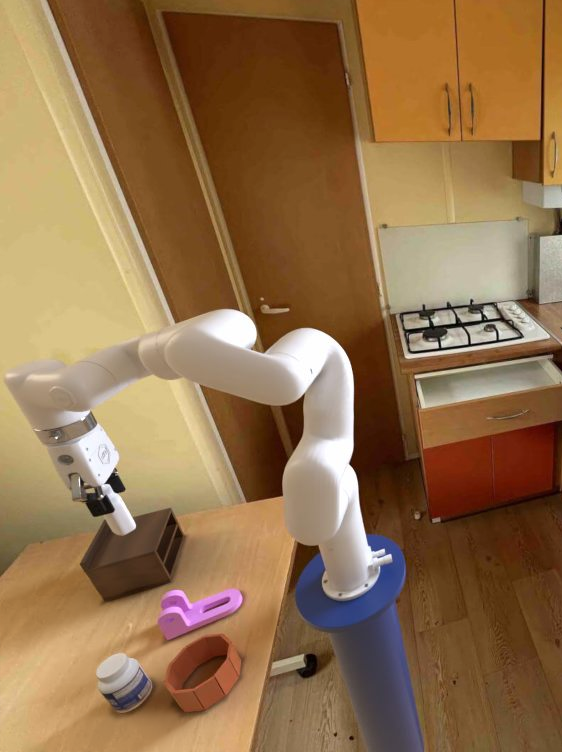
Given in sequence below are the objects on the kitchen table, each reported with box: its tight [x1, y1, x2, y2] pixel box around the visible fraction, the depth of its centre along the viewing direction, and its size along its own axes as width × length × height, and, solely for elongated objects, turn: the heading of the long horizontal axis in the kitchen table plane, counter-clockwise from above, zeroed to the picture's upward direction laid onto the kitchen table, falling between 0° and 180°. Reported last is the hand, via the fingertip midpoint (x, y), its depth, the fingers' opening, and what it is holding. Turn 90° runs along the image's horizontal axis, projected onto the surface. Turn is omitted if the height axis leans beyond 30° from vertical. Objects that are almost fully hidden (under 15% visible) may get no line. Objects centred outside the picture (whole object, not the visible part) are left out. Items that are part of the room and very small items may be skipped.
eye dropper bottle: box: [92, 484, 136, 536], centre depth 83 cm, size 4×6×12 cm
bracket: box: [156, 588, 243, 641], centre depth 88 cm, size 13×6×7 cm, turn 120°
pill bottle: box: [95, 652, 153, 714], centre depth 73 cm, size 5×5×10 cm
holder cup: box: [163, 632, 242, 713], centre depth 76 cm, size 10×10×6 cm
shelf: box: [79, 507, 186, 602], centre depth 97 cm, size 12×14×12 cm
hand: (110, 502), depth 83 cm, fingers closed on eye dropper bottle, 5 cm apart
